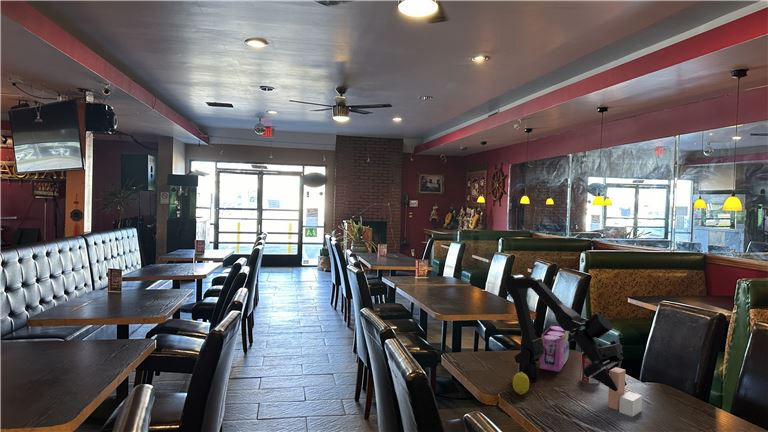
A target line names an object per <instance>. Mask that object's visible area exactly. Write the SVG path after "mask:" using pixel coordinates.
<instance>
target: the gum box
mask: <svg viewBox="0 0 768 432" xmlns="http://www.w3.org/2000/svg"><path fill="white" fill-rule="evenodd" d="M569 333H570V331H565V330H563V329H562V328H561V327H560V325H559V324H553V323H552V324H551V325H550V326H549V327H548V328H547V329H546V330H545V331H544V332H542V334H541V338H542V341H543V346H544V348H545V349H543V350H544V354H543V355H542V357H540V359H539V369H543V370H547V371H551V372H552V371H553V372H557V373H560V371H561V370H562V368H563V367H564V365H565V364H566V362H567V360H568V359H569V356H570V354H569V353H570V352H569V351H570V342H568V334H569Z"/></svg>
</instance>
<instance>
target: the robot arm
mask: <svg viewBox="0 0 768 432" xmlns="http://www.w3.org/2000/svg"><path fill="white" fill-rule="evenodd" d="M504 286H505V288H506V291H507V294H508V295H509V296H510V297H511V299H512V301H513V305H514V308H515V314H516V318H517V321H518V325H519V330H520V335H521V339H520V344H519V346H520V347H519V348H520V351H519V353H517V354H516V355H515V356H514V362H515V363H516V364H517V373H520V372H523V373H524V374H526V375H527V377H528V379H529V382H537V381H538V380H537V379H538V371H539V370H538V369H539V368H538V366H537V362H540V357H542V355H543V354H544V350H543V349H545V348H544V346H543V341H542V337H540V338H538V336H537V335H536V333H535V329H534V325H533V321H532V317H531V313H530V312H531V311H530V309H529V305H528V300H527V291H528V289H531V290H533V292H534V293H535V294H536V295H537V296H538V297H539V298H540V299H541V300H542V302H543V303H544V304H545V305H546V306H547V307H548V308H549V310H550V311H551V312H552V313H553V315H554V317H555V320H556V322H557V325H560V327H561V328H562V329H563V330H565V331H569V334H568V342H569V343H570V342H572V341H574V342H575V343H576V344H577V346H578V348H579V349H580V350H581V351H582V352H584V353H583V354H582V353H581V354H582V355H583V357H584V356H586V357H587V358H588V359H589V361H590V362H591V364H590V365H588V366H587V367H585V368H584V369H583V374H584V375H585V377H586V378H588V377H590V376H592V374H593V375H594V376H592V377H591V378H592V379H595V380H597V381H599V382H600V383H601V384H603V386H606V387H607V388H608V389H609V388H610V389H612V390H614V391H617V390H618V389H617V387H616V385H615V384H614V382H613V380H612V379H611V377H610V376H609V371H610V370H611V369H613V368H615V367H617V368H621V365H622V363H623V361H622V360H623V359H624V358H625V357H624V356H623V355H622V354H623V353H624V351H623V349H622V348H623V345H622V344H621V342H619V341H618V340H617V339H616V340H611V341H609V344H608V345H604V344H603V343H602V342H599V343H598V341H597V340H596V339H598V340H599V339H601V338H602V337H603V336H606V334H609V332H610V331H612V330H613V329H614V328H613V324H612V323H611V322H610V320H609V319H607V318H606V317H605V316H603V315H602V314H600V312H596V313H594V314H593V315H592V316H591V317H590V318H588V319H587V318H585V317H582V316H581V315H580V314H579V313H578V312H576V310H574V309H573V308H570V307H569V306H567V305H566V304H564V303H563V302H562V301H561V300H560V299H559V298H558V296H557V295H556V294H555V293H554V292H553V291H552V290H551V289H550V288H549V287H548V286H547V285H546V283H544V281H543V279H542V278H541V277H532V276H524V275H523V274H519V273H517V274H511V275H507V276H506V277H505V279H504ZM582 328H583V329H582ZM574 330H575V331H574ZM571 331H574V332H571ZM627 385H628V383H627V381H626V380H625V387H626V386H627Z"/></svg>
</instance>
